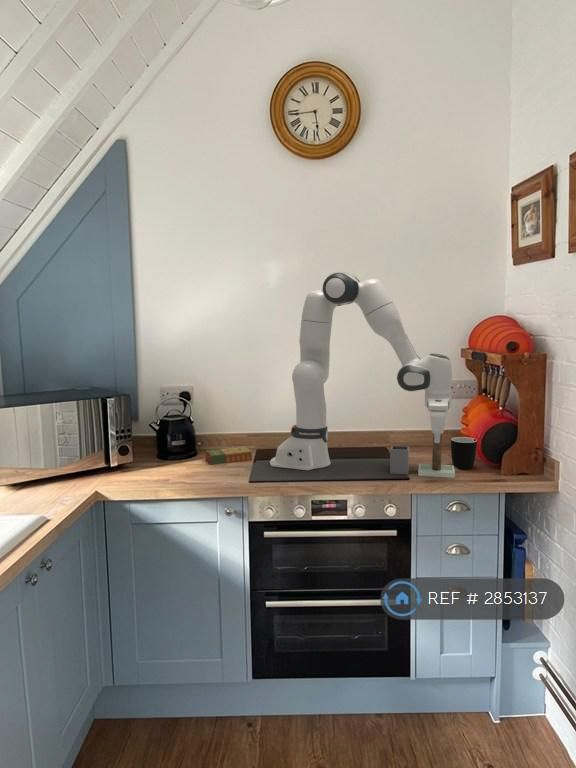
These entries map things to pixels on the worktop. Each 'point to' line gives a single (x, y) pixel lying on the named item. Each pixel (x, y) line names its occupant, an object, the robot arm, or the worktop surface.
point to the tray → (444, 472)
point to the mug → (463, 452)
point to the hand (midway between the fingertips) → (436, 441)
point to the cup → (399, 460)
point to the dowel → (436, 454)
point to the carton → (228, 455)
